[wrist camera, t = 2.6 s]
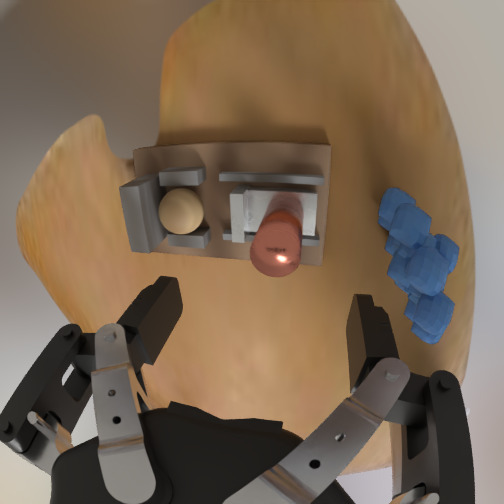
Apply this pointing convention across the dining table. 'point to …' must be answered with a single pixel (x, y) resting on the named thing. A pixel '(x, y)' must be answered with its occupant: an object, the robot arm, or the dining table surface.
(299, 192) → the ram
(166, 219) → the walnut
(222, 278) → the dining table surface
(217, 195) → the base
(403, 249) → the grapes
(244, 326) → the dining table surface
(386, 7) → the dining table surface
